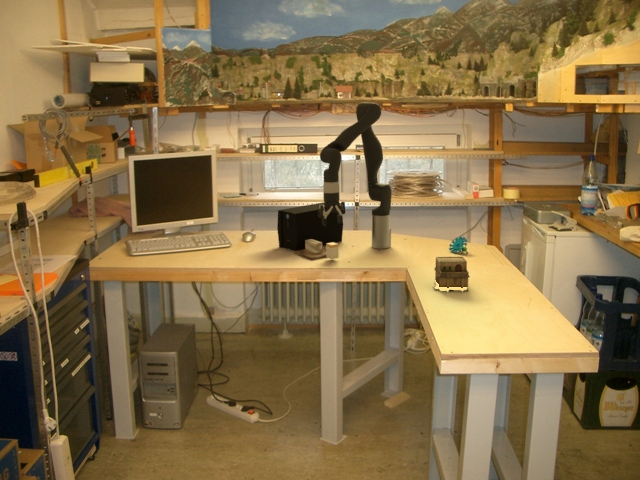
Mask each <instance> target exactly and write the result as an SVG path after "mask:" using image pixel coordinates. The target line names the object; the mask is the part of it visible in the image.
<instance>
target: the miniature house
mask: <svg viewBox="0 0 640 480" xmlns="http://www.w3.org/2000/svg"><path fill="white" fill-rule="evenodd" d="M467 261H468V260H467V259H466V258H465V257H464V256H435V267H434V268H433V270H434V271H435V272H434V273H435V274H434V275H435V276H434V278H435V279H434V281H435V280H436V282H437V283H438V284H439V287H447V288H449V287H461V288H463V287H468V288H469V278H470V277H471V276H470V275H469V271H468V268H467V267H468V262H467Z"/></svg>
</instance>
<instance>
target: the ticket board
mask: <svg viewBox="0 0 640 480" xmlns="http://www.w3.org/2000/svg"><path fill="white" fill-rule="evenodd" d="M293 252H294V254H295V255H297V256H299V257H303V258H305V259H308V260H310V261H314V260H315V261H316V260H320V259H326V258H327V257H326V247H324V246H322V242H319V241H316V240H313V239H310V240H305V249H304V250H298V251H293Z"/></svg>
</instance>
